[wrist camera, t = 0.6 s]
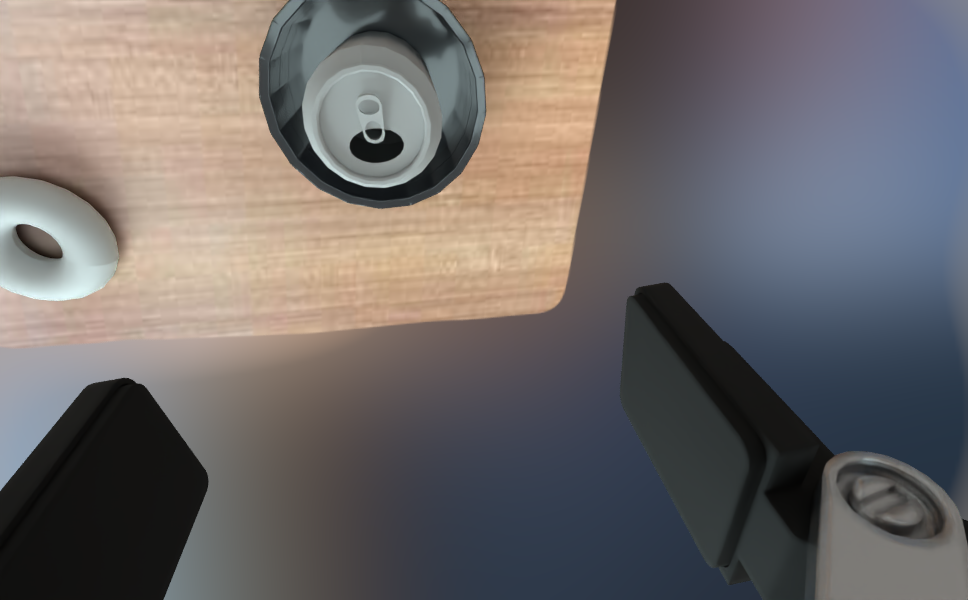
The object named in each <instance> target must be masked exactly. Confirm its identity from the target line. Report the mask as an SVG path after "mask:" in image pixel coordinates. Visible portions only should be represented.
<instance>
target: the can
mask: <svg viewBox="0 0 968 600" xmlns="http://www.w3.org/2000/svg"><path fill="white" fill-rule="evenodd" d="M302 111H303V121H304V129H305V131H306V134H307V136H308V138H309V141H310V143H311V145H312V148H313V150H314V151H315V152H316V154H317V155H318V156H319V157H320V159H321V160H322V161H323V162H324V163H325V165H326V166H327V167H328V168H329V169H331V170H332V171H334V172H335V173H336V174H338V175H339V176H341V177H342V178H344V179H345V180H347V181H350V182H353V183H356V184H359V185H362V186H365V187H379V188H387V187H391V186H395V185H399V184H403V183H406V182H407V181H409V180H410V179H412V178H413V177H415V176H417V175H418V174H420V173H421V172H422V171H423V170H424V169H425V167H426V166H427V165H428V164H429V162H430V161H431V160H432V159H433V157H434V155H435V153H436V150H437V147H438V145H439V142H440V139H441V131H442V113H441V109H440V105H439V101H438V97H437V93H436V91H435V88H434V85H433V82H432V79H431V76H430V74H429V71H428V69H427V67H426V65H425V63H424V62H423V60H422V58H421V57H420V55H419V53H418V52H417V51H415V50H414V49H413V48H412V47H411V46H410V45H409V44H408V43H407V42H406V41H405V40H403V39H400V38H398V37H396V36H394V35H392V34H390V33H386V32H377V31H367V32H363V33H360V34H356V35H353V36H351V37H350V38H349V39H347V40H346V41H344V42H343V43H342V44H340V45H339V46H338V47H337V48H336V49H335V50H334V51H333V52H332V53H330V54H329V55H328V56H327V57H326V58H325V59H324V60H323V61H322V62H321V63H320V64H319V65H318V67H317V68H316V70H315V71H314V73H313V74H312V76H311V78H310V79H309V81H308V82H307V85H306V90H305V94H304V98H303V103H302Z"/></svg>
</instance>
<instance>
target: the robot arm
mask: <svg viewBox="0 0 968 600" xmlns="http://www.w3.org/2000/svg"><path fill="white" fill-rule="evenodd" d="M620 398H621V403H622V406H623V408H624V411H625V412H626V414H627V416H628V418H629V420H630V422H631V424H632V426H633V427H634V429H635V431H636V433H637V435H638V437H639V439H640V440H641V442H642V444H643V446H644V448H645V450H646V451H647V454H648V455H649V457H650V459H651V461H652V463H653V465H654V467H655V468H656V470H657V472H658V474H659V476H660V478H661V480H662V481H663V483H664V485H665V487H666V489H667V491H668V493H669V495H670V496H671V498H672V500H673V502H674V504H675V506H676V508H677V509H678V511H679V513H680V515H681V517H682V519H683V521H684V523H685V524H686V526H687V528H688V530H689V532H690V534H691V536H692V538H693V539H694V541H695V543H696V545H697V547H698V549H699V550H700V552H701V554H702V556H703V558H704V559H705V561H706V562H707V563H708V565H709V566H710V567H712V568H716V567H719V569H720V571H721V573H722V575H723V576H724V578H725V580H726V582H727V584H728V585H732V584H736V583H741V582H746V581H750V580H752V582H753V584H754V585H755V587H756V589H757V590H758V592H759V594H760V595H761V597H762V599H763V600H968V521H966V520H964V519H962V518H961V516H960V514H959V511H958V509H957V507H956V505H955V503H954V502H953V501H952V500H951V499H950V497H949V496H948V495H947V494H946V492H945V491H944V490H943V489H942V488H941V487H940V486H938V485H937V484H936V483H935V482H934V481H932V480H931V479H930V478H929V477H927V476H926V475H925V474H923V473H921V472H920V471H918V470H916V469H914V468H913V467H911V466H909V465H908V464H906V463H903V462H901V461H898V460H896V459H893V458H891V457H888V456H886V455H881V454H876V453H871V452H867V451H848V452H845V453H841V454H838V455H834V454H833V453H832V452H831V451H830V450H829V449H828V448H827V447H826V446H825V445H824V444H823V443H822V442H821V441H820V439H819V438H818V437H817V436H816V435H815V434H814V433H813V432H812V431H811V430H810V429H809V428H808V427H807V426H806V425H805V424H804V422H803V421H802V420H801V419H800V418H799V417H798V416H797V415H796V414H795V413H794V412H793V411H792V410H791V409H790V408H789V407H788V406H787V404H786V403H785V402H784V401H783V400H782V399H781V398H780V397H779V396H778V395H777V394H776V393H775V392H774V391H773V390H772V389H771V387H770V386H769V385H768V384H767V383H766V382H765V381H764V380H763V379H762V378H761V377H760V376H759V375H758V374H757V373H756V372H755V371H754V369H752V367H751V366H750V365H749V364H748V363H747V362H746V361H745V360H744V359H743V358H742V357H741V356H740V355H739V354H738V353H737V352H736V350H735V349H734V348H733V347H732V346H730V345H729V344H728V343H726V342H725V341H723V340H722V339H721V338H720V337H719V336H718V335H717V334H716V333H715V332H714V331H713V330H712V328H711V327H710V326H709V325H708V324H707V323H706V322H705V321H704V320H703V319H702V318H701V317H700V316H699V315H698V313H697V312H696V311H695V310H694V309H693V308H692V307H691V306H690V305H689V304H688V303H687V302H686V301H685V300H684V299H683V297H682V296H681V295H680V294H679V293H678V292H677V291H676V290H675V289H674V288H673V287H672V286H671V285H670V284H669V283H660V284H654V285H648V286H643V287H639V288H637V289H636V291H635V295H634V296H630V297H629V298H628V299H627V306H626V320H625V332H624V345H623V358H622V371H621V385H620ZM207 488H208V475H207V472H206V470H205V469H204V468H203V466H202V465H201V463H200V462H199V460H198V459H197V458H196V456H195V455H194V454H193V452H192V451H191V449H190V448H189V447H188V445H187V444H186V442H185V441H184V440H183V438H182V437H181V436H180V434H179V433H178V431H177V430H176V429H175V427H174V426H173V424H172V423H171V422H170V420H169V419H168V417H167V416H166V415H165V413H164V412H163V411H162V409H161V408H160V406H159V405H158V404H157V402H156V401H155V400H154V398H153V397H152V395H151V394H150V392H149V391H148V390H147V388H145V386H144V385H142V384H137V383H136V382H135V381H133V380H131V379H129V378H121V379H115V380H109V381H104V382H98V383H93V384H91V385H88V386H87V387H86V388H85V389H83V391H82V392H81V393H80V394H79V396H78V397H77V398H76V399H75V400H74V402H73V403H72V404H71V405H70V406H69V408H68V409H67V410H66V411H65V413H64V414H63V415H62V417H60V419H59V420H58V421H57V422H56V424H55V425H54V426H53V427H52V429H51V430H50V431H49V432H48V434H47V435H46V436H45V437H44V438H43V440H42V441H41V442H40V443H39V444H38V446H37V447H36V448H35V449H34V451H33V452H32V453H31V454H30V455H29V457H28V458H27V459H26V460H25V462H24V463H23V464H22V465H21V466H20V468H19V469H18V470H17V471H16V473H15V474H14V475H13V476H12V477H11V479H10V480H9V481H8V482H7V484H6V485H5V486H4V487H3V488H2V490H1V491H0V600H163V599H164V597H165V594H166V592H167V589H168V587H169V584H170V582H171V579H172V577H173V574H174V572H175V569H176V567H177V564H178V562H179V559H180V556H181V554H182V552H183V549H184V547H185V544H186V542H187V539H188V537H189V534H190V532H191V529H192V527H193V524H194V522H195V519H196V517H197V514H198V511H199V509H200V506H201V504H202V502H203V499H204V497H205V494H206V492H207Z"/></svg>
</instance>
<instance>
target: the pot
mask: <svg viewBox="0 0 968 600" xmlns="http://www.w3.org/2000/svg"><path fill="white" fill-rule="evenodd" d="M367 31H377V32H386V33H390V34H392V35H394V36H396V37H398V38H400V39H403V40H405V41H406V42H407V43H408V44H409V45H410V46H411V47H412V48H413V49H414V50H415V51H417V52H418V53H419V55H420V57H421V58H422V60H423V62H424V63H425V65H426V67H427V69H428V71H429V74H430V76H431V79H432V82H433V85H434V88H435V91H436V93H437V97H438V101H439V105H440V109H441V113H442V131H441V139H440V142H439V145H438V147H437V150H436V153H435V155H434V157H433V159H432V160H431V161H430V162H429V164H428V165H427V166H426V167H425V169H424V170H423V171H422V172H421V173H420V174H418V175H417V176H415V177H413V178H412V179H410V180H409V181H407V182H406V183H403V184H399V185H395V186H391V187H387V188H379V187H365V186H362V185H359V184H356V183H353V182H350V181H347V180H345V179H344V178H342V177H341V176H339V175H338V174H336V173H335V172H334V171H332V170H331V169H329V168H328V167H327V166H326V165H325V163H324V162H323V161H322V160H321V159H320V157H319V156H318V155H317V154H316V152H315V151H314V150H313V148H312V145H311V143H310V141H309V138H308V136H307V134H306V131H305V129H304V121H303V111H302V103H303V98H304V94H305V90H306V85H307V82H308V81H309V79H310V78H311V76H312V74H313V73H314V71H315V70H316V68H317V67H318V65H319V64H320V63H321V62H322V61H323V60H324V59H325V58H326V57H327V56H328V55H329V54H330V53H332V52H333V51H334V50H335V49H336V48H337V47H338V46H339V45H340V44H342V43H343V42H344V41H346V40H347V39H349V38H350V37H351V36H353V35H356V34H360V33H363V32H367ZM259 98H260V101H261V104H262V107H263V111H264V114H265V117H266V120H267V123H268V127H269V130H270V133H271V135H272V136H273V138H274V139H275V141H276V142H277V144H278V145H279V147H280V148H281V150H282V151H283V153H284V154H285V156H286V158H287V159H288V161H289V162H290V164H292V166H293V167H294V168H295V169H297V170H298V171H299V172H300V173H301V174H302V175H303V176H305V177H306V178H307V179H308V180H309V181H310V182H311V183H313V184H314V185H315V186H316V187H317V188H319V189H320V190H322V191H324V192H326V193H329V194H331V195H333V196H335V197H337V198H339V199H341V200H343V201H345V202H347V203H350V204H356V205H362V206H367V207H373V208H378V209H380V208H381V209H383V208H392V207H401V206H409V205H413V204H415V203H417V202H420V201H422V200H424V199H427V198H429V197H431V196H433V195H436V194H438V193H439V192H441V191H442V190H443V189H444V188H445V187H446V186H447V185H449V184H450V183H451V182H452V181H453V180H454V179H455V178H457V177H458V176H459V175H460V174H461V172H463V170H464V168H465V167H466V165H467V163H468V162H469V160H470V158H471V157H472V155H473V153H474V152H475V150H476V148H477V147H478V145H479V141H480V136H481V132H482V128H483V124H484V120H485V116H486V97H485V78H484V74H483V71H482V68H481V65H480V62H479V59H478V57H477V54H476V51H475V48H474V45H473V43H472V40H471V38H470V37H469V35H468V34H467V33H466V31H465V30H464V29H463V27H462V26H461V25H460V23H459V22H458V20H457V19H456V18H455V16H454V15H453V14H452V12H451V11H450V9H449V8H448V7H447V6H446V5H445V4H443V3H442V2H441V1H439V0H289V1H288V2H287V3H286V4H285V5H284V7H283V8H282V9H281V10H280V11H279V12H278V14H277V15H276V16H275V17H274V18H273V20H272V22H271V25H270V28H269V30H268V33H267V36H266V39H265V42H264V45H263V47H262V50H261V53H260V58H259Z"/></svg>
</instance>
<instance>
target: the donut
mask: <svg viewBox="0 0 968 600" xmlns="http://www.w3.org/2000/svg"><path fill="white" fill-rule="evenodd" d="M18 224H29V225H31V226H34V227H37V228H40V229H41V230H43V231H45V232H47V233H48V234H50V235H51V236H52V237H53V238H54V239H55V240H56V241H57V242H58V244H59V245H60V247H61V248H62V252H63V257H62V258H60V259H52V258H47V257H44V256H41V255H39V254H37V253H35V252H33V251H31V250H30V249H29V248H28V247H26V246H25V245H24V244H23V243H22V242H21V240H20V239H19V237H18V236H17V232H16V226H17V225H18ZM118 260H119V252H118V247H117V242H116V237H115V235H114V233H113V232H112V230H111V228H110V227H109V225H108V223H107V222H106V220H105V219H104V218H103V217H102V216H101V215H100V214H99V213H98V212H97V211H96V210H95V209H94V208H93V207H92V206H91V205H90V204H89V203H88V202H86V201H84V200H83V199H81V198H80V197H78V196H77V195H75V194H73V193H72V192H70V191H69V190H67V189H64V188H62V187H59V186H56V185H54V184H51V183H48V182H46V181H43V180H37V179H31V178H24V177H17V176H8V177H0V286H1V287H3V288H5V289H7V290H9V291H11V292H13V293H17V294H20V295H24V296H27V297H30V298H34V299H40V300H51V301H62V300H69V299H76V298H83V297H85V296H87V295H89V294H91V293H93V292H95V291H98V290H99V289H101V288H103V287H104V286H105V285H106V283H107V282H108V281H109V280H110V279H111V278H112V276H113V275H114V274H115V272H116V268H117V264H118Z"/></svg>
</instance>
